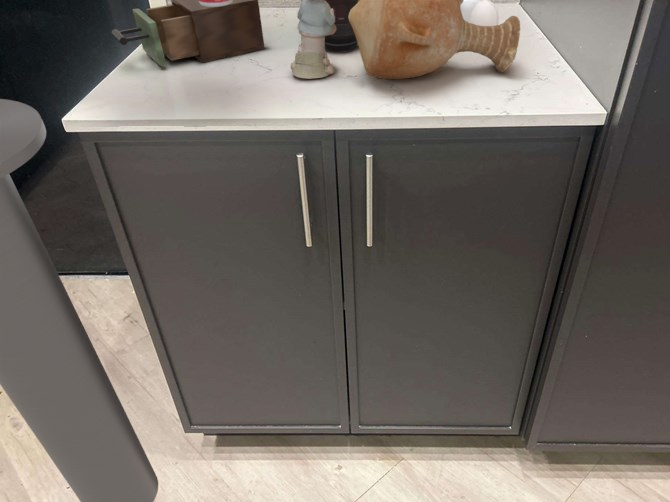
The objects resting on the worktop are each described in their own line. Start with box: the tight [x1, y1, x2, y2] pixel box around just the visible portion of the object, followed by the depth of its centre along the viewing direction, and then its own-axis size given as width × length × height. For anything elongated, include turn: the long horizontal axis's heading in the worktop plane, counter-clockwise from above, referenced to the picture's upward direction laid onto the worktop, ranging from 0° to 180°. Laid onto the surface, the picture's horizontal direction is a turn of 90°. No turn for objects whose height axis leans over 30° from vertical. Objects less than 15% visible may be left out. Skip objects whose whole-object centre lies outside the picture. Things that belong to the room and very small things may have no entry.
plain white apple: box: [460, 0, 483, 23], centre depth 127 cm, size 7×7×8 cm
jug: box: [348, 0, 521, 80], centre depth 101 cm, size 20×19×30 cm
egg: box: [469, 0, 500, 26], centre depth 118 cm, size 6×6×8 cm
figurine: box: [290, 0, 336, 80], centre depth 101 cm, size 9×8×20 cm
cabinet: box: [170, 0, 266, 64], centre depth 116 cm, size 14×13×10 cm
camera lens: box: [324, 0, 358, 53], centre depth 113 cm, size 8×8×15 cm
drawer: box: [111, 3, 199, 67], centre depth 112 cm, size 18×11×8 cm, turn 123°
